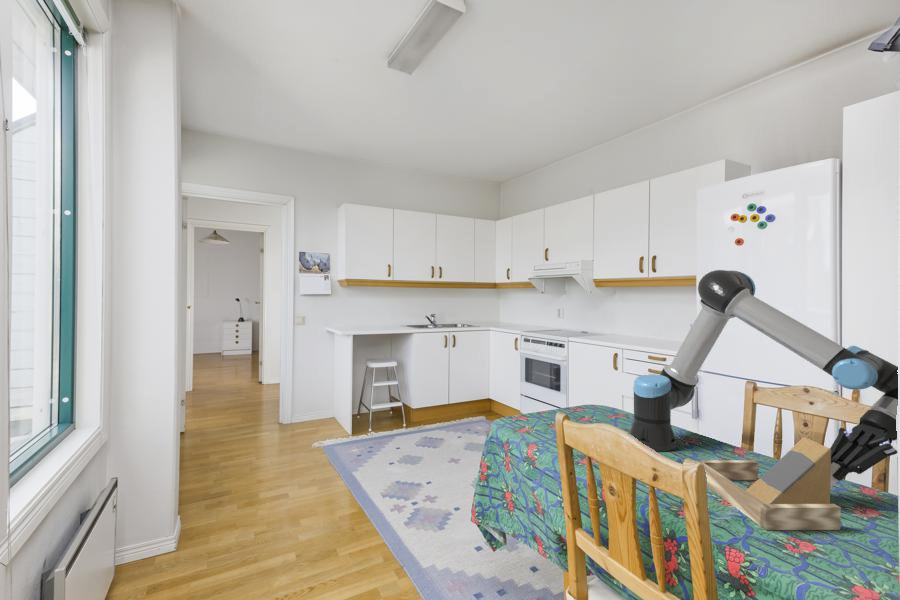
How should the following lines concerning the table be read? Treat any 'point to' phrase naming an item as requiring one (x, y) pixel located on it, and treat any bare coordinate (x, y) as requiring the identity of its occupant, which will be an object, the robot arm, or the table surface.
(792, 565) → the table surface
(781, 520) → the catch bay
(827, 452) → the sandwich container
